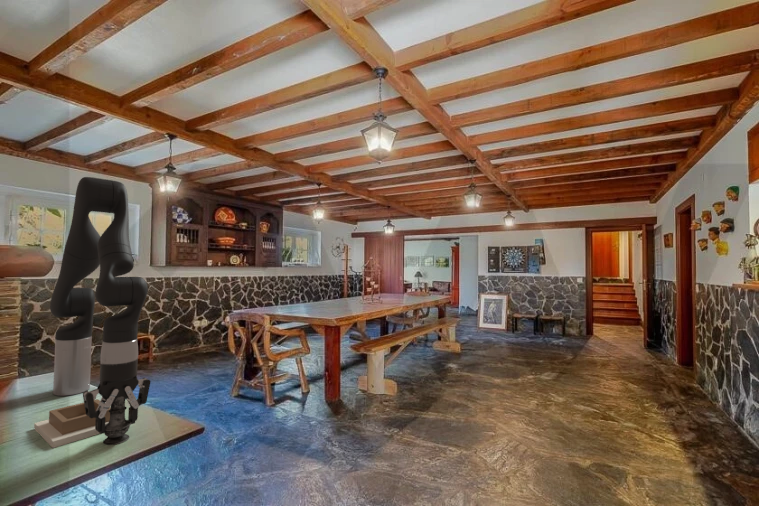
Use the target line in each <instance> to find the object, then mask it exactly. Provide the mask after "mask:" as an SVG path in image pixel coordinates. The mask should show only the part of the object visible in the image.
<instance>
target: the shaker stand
mask: <svg viewBox="0 0 759 506" xmlns="http://www.w3.org/2000/svg"><path fill="white" fill-rule="evenodd" d="M100 400H101V399H97V398H96V399H95V400H94V406H95V411H96V410H97V408H98V406H99V402H100ZM110 409H111V406H110V408H109V409H108V410H107V412H106V414H105V416H104V417H105V424H107V423H109V420H110V412H109V410H110ZM95 422H96V418H90V417H89V416H87V415H86V412H85V406H84V402H80V403H76V404H72V405H67V406H64V407H60V408H56V409H51V410H49V412H48V419H45V420H42V421H37V422H34V424H33V429H34V428H35V429H34V431H35V432H37V433H38V434H40V435H41V436H42V437H41V438H42V439H43V440H44V441H45V442H46V443H47V444H48V445H49V446H50V447H51V448H52V449H54V448H57V447H61V446H64V445H67V444H70V443H74V442H76V441H77V442H78V441H80V440H83V439H86V438H90V437H93V436H96V435H99V434H100V433H99V432H98V431H96V429H95ZM40 435H39V436H40Z"/></svg>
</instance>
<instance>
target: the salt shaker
mask: <svg viewBox="0 0 759 506" xmlns="http://www.w3.org/2000/svg"><path fill="white" fill-rule="evenodd" d="M124 399H125V398H124V397H122V396H121V397H118V398H117V399H116V400H115V402H114V403H112V404H111V406H110V407H111V409H110V410H109V412H110V420H109V423H107V424H105V433H103V434H104V435H105V436H106V437H105V438H104V440H103V441H102V443H103V445H105V446H113V445H114V446H115V445H118V444H119V445H120V444H122V443H125V442H126V441H128V440H129V439H130V435H129V434H126V433H127V432H128V431H129V429H130V427H131V425H132V424H131V421H129V420H128V419H126V410H127V406H126V399H125V400H124Z"/></svg>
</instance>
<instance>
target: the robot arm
mask: <svg viewBox="0 0 759 506" xmlns="http://www.w3.org/2000/svg"><path fill="white" fill-rule="evenodd" d="M74 196H75V198H74V206H73V212H72V218H71V224H70V227H69V231H68V236H67V239H66V242H65V245H64V249H63V254H62V259H61V265H60V271H59V274H58V277H57V280H56V283H55V287H54V289H53V291H52V295H51V298H50V305H49V309H50V313H51V315H52V316H54V318H55V317H56V318H72V317H74V318H75V317H78V319H77V320H75V321H74V322H72V323H70V324H68V325H65V326H63V327H60V328H58V329H57V330H55V335H54V336H55V337H54V341H55V342H54V365H53V386H52V387H53V388H52V389H53V390H52V394H53V395H54V396H59V397H60V396H61V397H62V396H73V395H78V394H81V393H82V398H83V399H82V400H83V403H84V406H85V412H86V415H87V416H89V417H90V418H96V422H95V429H96V431H98V432H99V433H100V434H104V433H105V417H104V416H105V414H106V412H107V410H108V409H109V408H110V407H111V404H112V403H114V402H115V400H116V399H117V398H118V397H121V396H122V397H124V398H125V399H124V400H125V401H126V402H127V403H128V405H129V407H128V416H127V420H129V421H131V425H133V424H135V423H136V422H137V421H138V417H139V415H138V413H139V407H141V405H144V404H146V403H147V401H148V397H149V391H150V386H151V380H150V379H148V378H146V377H143V378H140V379H138V365H139V363H138V362H139V361H138V359H139V345H138V333H139V332H138V329H139V327H138V326H139V319H140V316H141V312H142V310H143V307H144V304H145V303H146V302H145V301H146V298H147V295H148V293H149V292H148V291H149V286H148V283H147V281H146V280H145V279H144V278H143V277H140V276H124V275H127V274H128V273H130V272H132V271H133V269H134V267H135V266H134V265H135V264H134V259H133V253H132V249H131V244H130V236H129V235H130V229H129V228H130V227H129V226H130V225H129V195H128V191H127V187H126V186H125V184H124V183H123V182H121V181H117V180H113V179H105V178H99V177H98V178H97V177H92V176H85V177H82V178H80V180H79V181H78V184H77V186H76V192H75V195H74ZM91 212H95V213H96V212H97V213H105V214H113V219H112V222H111V223H110V224H109V226H108V227H107V228H105V230H104V231H103V233H102V234H101V235H100V233H99V232H98V231H97V229H96V228H95V226H94V225H93V222H92V221H91V219H90V215H89V214H90V213H91ZM98 268H99V277H98V280H97V284H96V287H95V292H94V289H93V288H91V287H75V286H77V284H78V283H80V282H81V281H83V280H85V278H87V277H88V276H90V275H91V274H92V273H93V272H95V271H96V270H97V269H98ZM96 302H98V304H100V305H101V306H103V307H121V306H127V307H126V309H125V310H123V312H121V313H118V314H114V315H111V316H107V317H106V318H105V319H104V321H103V326H102V342H101V343H102V344H101V349H100V361H99V362H100V363H99V364H100V365H99V366H100V367H99V385H98V386H97V388H94V389H92V390H90V387H91V369H92V367H91V366H92V344H93V343H92V340H93V339H92V338H93V337H92V336H93V328H94V327H93V323H94V314H95V305H96ZM88 384H89V385H88ZM137 387H138V388H139V391H138V395H137V397H136V396H135V393H134V391H135V389H136V388H137ZM98 394H99V395H100V396H101V398H100V399H99V400H100V402H99V406H98V408H97V410H96V411H95V406H94V400H96V399H97V395H98Z"/></svg>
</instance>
